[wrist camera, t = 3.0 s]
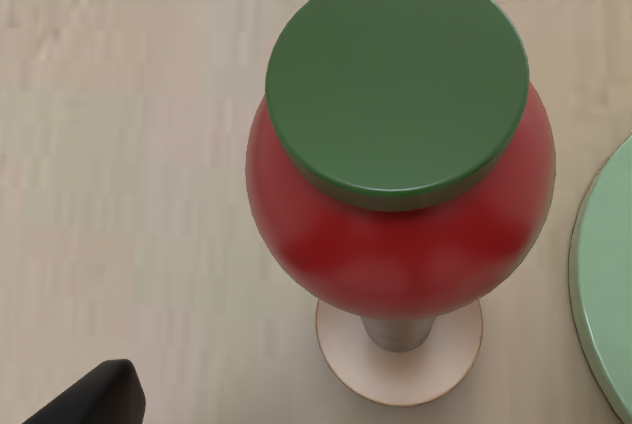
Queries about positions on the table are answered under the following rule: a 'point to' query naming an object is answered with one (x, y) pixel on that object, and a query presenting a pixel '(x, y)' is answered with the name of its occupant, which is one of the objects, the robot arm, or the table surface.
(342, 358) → the strawberry fork
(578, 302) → the plate
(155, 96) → the table surface
